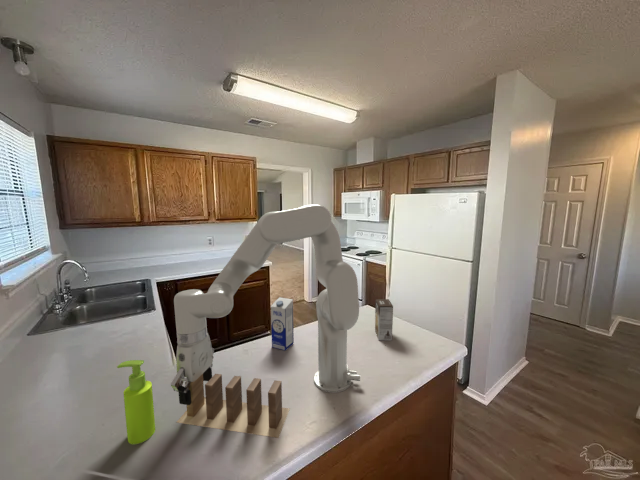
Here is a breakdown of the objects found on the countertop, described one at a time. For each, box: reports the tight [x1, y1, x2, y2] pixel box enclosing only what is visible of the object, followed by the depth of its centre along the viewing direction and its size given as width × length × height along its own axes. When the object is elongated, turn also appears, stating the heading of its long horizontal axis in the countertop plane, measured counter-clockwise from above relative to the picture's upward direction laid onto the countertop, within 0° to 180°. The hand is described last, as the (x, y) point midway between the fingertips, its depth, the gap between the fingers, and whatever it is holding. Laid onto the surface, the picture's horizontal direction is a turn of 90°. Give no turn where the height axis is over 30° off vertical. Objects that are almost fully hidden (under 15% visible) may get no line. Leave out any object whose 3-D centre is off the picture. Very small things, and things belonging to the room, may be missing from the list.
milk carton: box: [270, 296, 295, 352], centre depth 111 cm, size 7×7×20 cm
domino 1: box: [184, 374, 205, 417], centre depth 75 cm, size 2×5×10 cm, turn 170°
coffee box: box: [374, 298, 394, 341], centre depth 120 cm, size 9×6×16 cm
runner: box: [176, 396, 291, 439], centre depth 73 cm, size 29×10×1 cm, turn 80°
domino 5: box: [267, 380, 283, 429], centre depth 71 cm, size 2×5×10 cm, turn 170°
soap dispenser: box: [116, 359, 156, 445], centre depth 66 cm, size 6×7×20 cm
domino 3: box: [224, 375, 243, 423], centre depth 73 cm, size 2×5×10 cm, turn 170°
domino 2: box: [204, 373, 224, 420], centre depth 74 cm, size 2×5×10 cm, turn 170°
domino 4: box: [245, 377, 263, 426], centre depth 72 cm, size 2×5×10 cm, turn 170°
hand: (197, 391), depth 75 cm, fingers open, 9 cm apart
